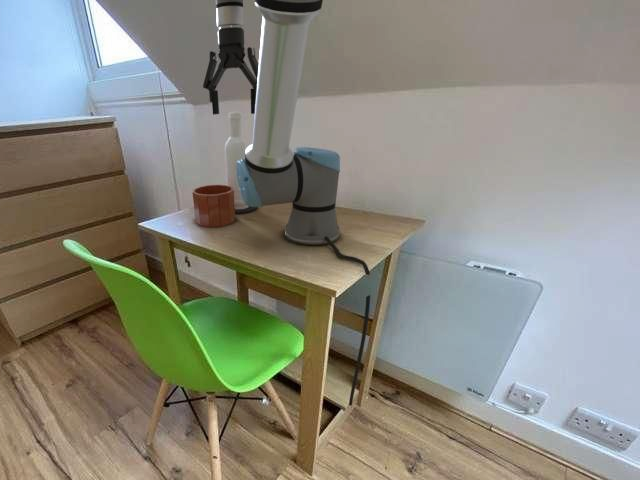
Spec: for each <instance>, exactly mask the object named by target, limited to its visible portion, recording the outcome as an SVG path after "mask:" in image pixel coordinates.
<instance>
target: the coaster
mask: <svg viewBox="0 0 640 480" xmlns="http://www.w3.org/2000/svg"><path fill="white" fill-rule="evenodd" d="M257 208H258V206H256V207H250V206H249V207H248V208H246V209H241V210H235V215H242V214H249V213H252V212H254V211H256V210H257Z"/></svg>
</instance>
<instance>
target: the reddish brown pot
mask: <svg viewBox="0 0 640 480" xmlns="http://www.w3.org/2000/svg"><path fill="white" fill-rule="evenodd" d="M191 193H192V200H193V201H192V202H193V210H194V217H195V223H196V224H197V225H198V226H200V227H205V228H206V227H207V228H219V227H224V226H228V225H231V224H233V223H234V222H236V214H235V206H234V189H233V187H231V186H228V185H227V184H206V185H202V186H198V187H196V188H194V189H192V192H191Z"/></svg>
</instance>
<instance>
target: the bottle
mask: <svg viewBox="0 0 640 480" xmlns="http://www.w3.org/2000/svg"><path fill="white" fill-rule="evenodd" d="M241 118H242V116H241V112H240V111H230V112H228V125H229V137H228V138H227V140H226V141H225V145H224V161H225V162H224V163H225V177H226V185H228V186H231V187H233V189H234V206H235V210H241V209H246V208H248V207H249V206H247V205H246V204H245V202H244V200H243V198H242V195H241V192H240V188H239V183H238V178H237V168H236V166H237V161H238V160H241V159H245V151H246V148H247V147H248V144H247V141H246V140H245V139H244V138H243V136H242V128H241V122H242V121H241Z"/></svg>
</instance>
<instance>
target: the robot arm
mask: <svg viewBox="0 0 640 480" xmlns="http://www.w3.org/2000/svg"><path fill="white" fill-rule="evenodd" d="M323 1H324V0H254V5H255V7H256V8H257V10H258V11H259V13H260V14H261V17H262V18H261V19H262V20H261V29H260V30H261V31H260V42H259V43H260V44H259V56H258V59H257V57H256V49H255V48H254V47H251V46H249V47H247V48H245V29H244V28H243V27H244V25H245V21H244V19H245V18H244V17H245V16H244V0H215V7H216V8H215V9H216V10H215V11H216V27H217V28H218V30H217V43H218V51H213V50H212V51H209V61H208V65H207V68H206V74H205V76H204V80H203V84H202V88H203V89H206V90H207V91H208V95H209V102H210V103H211V105H212V107H211V108H212V115H219V114H220V107H219V106H220V105H219V91H218V90H217V87H218V85H219V83H220V81H221V79H222V77H223V76H224V74H225V72H226V70H227V69H228V70H229V69H240V71H241V73H242V74H243V75H244V76H245V78H246V79H247V81H248V82H249V83H250V85H251V86H252V88H250V114H251V115H254V117H253V118H254V119H253V132H252V143H251V144H249V145H247V148H246V151H245V159H241V160H238V161H237V166H236V168H237V178H238V183H239V188H240V192H241V195H242V198H243V200H244V202H245V204H246V205H247V206H250V207H256V206H257V207H260V208H263V207H266V206H273V205H282V204H291V203H292V207H291V212H290V215H289V218H288V221H287V224H285V225H286V226H285V228H284V237H285V238H286V239H287V240H288V241H290V242H292V243H294V244H297V245H304V246H323V245H329V246H330V247H331V248H332V249H333V250H334V253H335V254H336V255H337V257H339V259H343V260H349V261H353V262H356V263H358V264H360V265H361V266H362V268H363V270H364V273H365V275H368V276H370V275H371V274H370V273H371V272H370V270H369V267H368V265H367V263H366V261H364V260H362V259H360V258H358V257H355V256H350V255H346V254H342V253H341V252H340V250H339V248H338V247H337V246H336V245H335V244H334V242H336V241H338V239H339V237H340V226H339V224H338V218H337V213H336V205H337V204H336V203H337V195H338V185H339V177H340V172H341V157H340V155H339V153H338V152H336V151H334V150H329V149H326V148H325V149H324V148H317V147H305V146H300V147H296V148H294V150H292V149H291V148H290V142H291V138H292V129H293V124H294V118H295V113H296V107H297V102H298V94H299V89H300V83H301V79H302V72H303V67H304V66H303V65H304V60H305V54H306V48H307V42H308V38H309V30H310V24H311V21H312V19H313V18H315V17H316V16H317V15H318V14H319V13H320V12H321V11H322V6H323ZM245 57H246V58H248V61H249V64H250V66H251V69H252V71H253V73H254V74H253V73H252V71H251V69H250V68H249V66H248V64H247V62H246V61H245V60H244V59H245ZM219 60H220V62H219V64H218V61H219ZM217 64H218V65H217ZM216 67H217V69H216ZM370 306H371V294H369V295H367V296H365V309H364V318H363V327H362V333H361V339H360V340H361V341H360V345H359V349H358V355H357V360H356V365H355V370H354V375H353V380H352V384H351V389H350V396H349V401H348V405H349V406H350V407H351V406H352V405H353V401H354V396H355V390H356V385H357V382H358V376H359V371H360V367H361V362H362V357H363V353H364V347H365V344H366V343H365V342H366V337H367V331H368V323H369V316H370Z"/></svg>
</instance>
